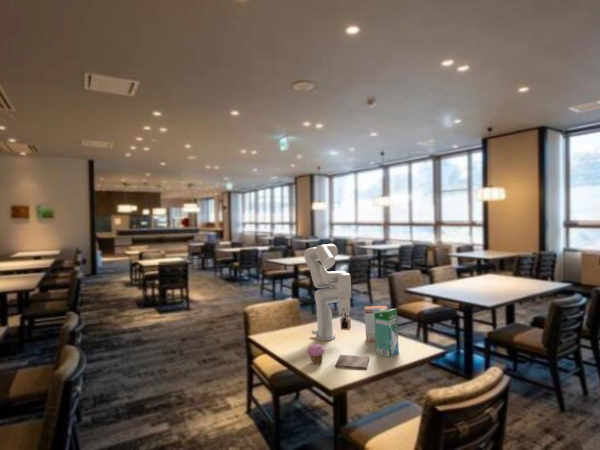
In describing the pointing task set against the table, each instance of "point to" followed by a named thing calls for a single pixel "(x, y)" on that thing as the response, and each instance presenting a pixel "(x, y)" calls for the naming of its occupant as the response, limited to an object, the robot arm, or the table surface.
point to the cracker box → (371, 321)
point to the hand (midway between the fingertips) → (345, 326)
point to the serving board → (352, 362)
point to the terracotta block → (348, 323)
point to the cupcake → (316, 353)
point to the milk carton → (386, 332)
